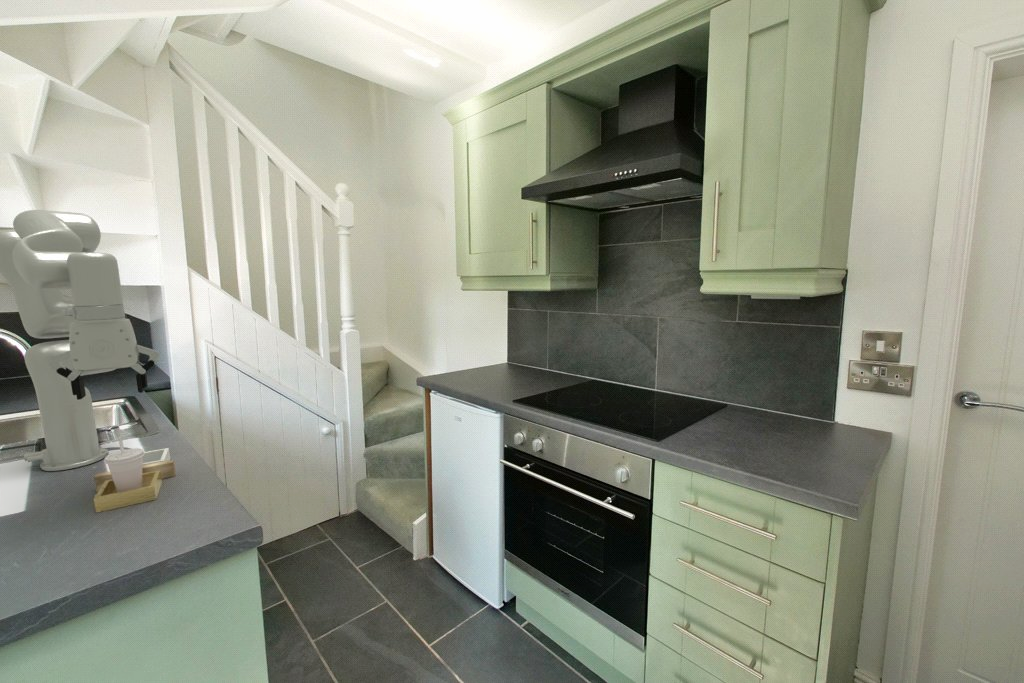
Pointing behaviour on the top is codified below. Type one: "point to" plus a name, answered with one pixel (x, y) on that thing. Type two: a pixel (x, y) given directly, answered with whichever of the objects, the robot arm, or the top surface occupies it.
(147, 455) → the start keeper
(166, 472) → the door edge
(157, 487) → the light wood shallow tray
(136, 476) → the smoothie
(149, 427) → the top surface
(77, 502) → the top surface
